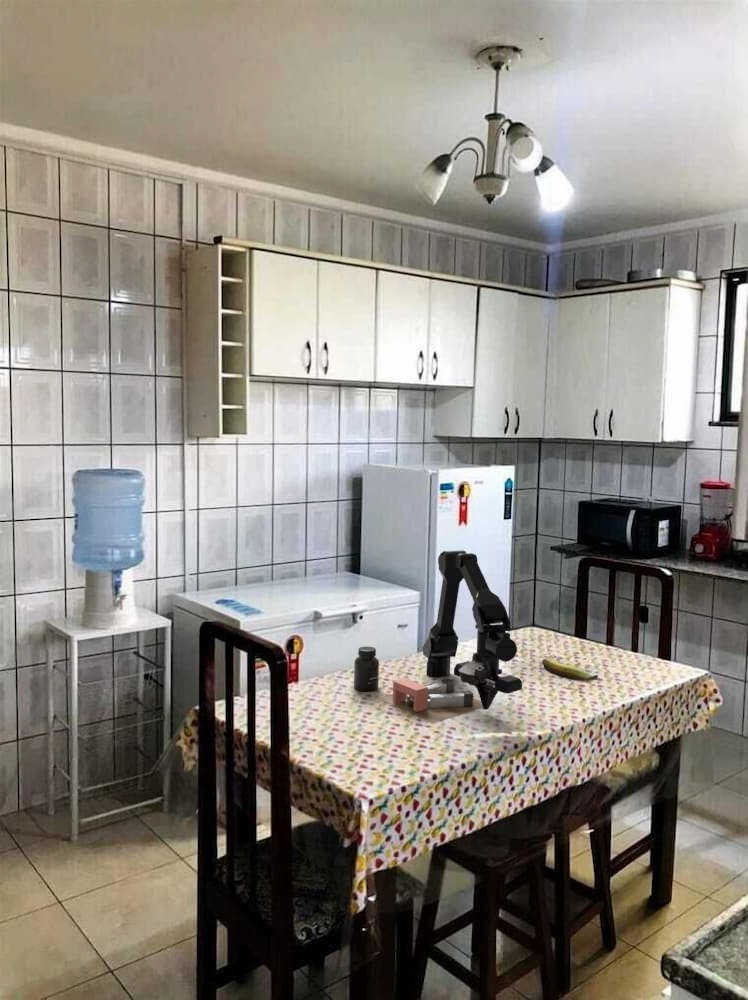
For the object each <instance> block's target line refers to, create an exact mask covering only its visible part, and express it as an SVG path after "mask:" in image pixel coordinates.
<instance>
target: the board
mask: <svg viewBox="0 0 748 1000" xmlns="http://www.w3.org/2000/svg"><path fill="white" fill-rule="evenodd" d="M433 684H436V683H434V682H431V683H429V684H423V686H429V685H433ZM455 693H460V692H458V691H455V690H454V694H455ZM407 696H409V695H408V694H407ZM376 700H379V701H381V702H384V703H386V704H388V705H391V706H393V707H395V708H398V709H400V710H403V711H404V712H407V713H410V714H411V715H413V716H416V717H419V718H421V719H423V720H425V721H428V722H430V723H432V724H435V723H438V722H442V721H445V720H447V719H451V718H455V717H458V716H461V715H464V714H467V713H472V712H474V711H476V710H480V709H483V706H482V702H481V699H480V700H479V699H477V698H475V697H473V706H467V707H441V708H430V707H428V708H427V709H425V710H421V711H418V712H415V711H413V707H410V706H409V704H408V703H407V700H405V701H401V702H398V703H394V702H393V693H391V694H387V695H384V696H380V697H377V698H376Z"/></svg>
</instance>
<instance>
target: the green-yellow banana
mask: <svg viewBox="0 0 748 1000" xmlns="http://www.w3.org/2000/svg"><path fill="white" fill-rule="evenodd" d="M546 654H547V653H546ZM546 654H544V655H546ZM553 655H554V656H555V654H553ZM556 656H557V655H556ZM556 656H555V657H554V658H557V657H556ZM554 658H553V657H552V658H545V659H544V660H541V662H542V665H543V669H544V670H545V669H546V670H545V671H546V672H549V673H550V674H551V673H552V674H553V675H556V676H557V675H558V676H560V677H563V678H568V679H571V680H583V681H585V680H597V679H598V677H599V675H598V674H595V675H590V674H589V673H588V672H587V671H585V670H583V669H582V668H579V667H577V666H572V665H568V664H564V663H560V662H557V661H555V660H553V659H554ZM561 687H562V689H571V690H573V688H569V687H566V686H561ZM574 690H576V691H578V689H577V688H574ZM580 691H583V690H582V689H580Z"/></svg>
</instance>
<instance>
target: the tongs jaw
mask: <svg viewBox="0 0 748 1000" xmlns="http://www.w3.org/2000/svg"><path fill="white" fill-rule="evenodd" d="M473 698H474V693H473V691H472V690H471V689H469V690H467V689H465V690H461V692H459V693H455V694H431V695H428V707H430V708H441V707H467V706H473Z"/></svg>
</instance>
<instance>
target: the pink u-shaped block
mask: <svg viewBox="0 0 748 1000" xmlns="http://www.w3.org/2000/svg"><path fill="white" fill-rule="evenodd" d="M392 683H393V685H392V694H393V702H394V703H398V702H401V701H405V700H407V694H408V695H410V696H413V697H414V707H413V711H415V712H418V711H421V710H425V709H427V708H428V687H426V686H424V684H421V683H418V682H416V681H413V680H411V679H407V678H406V677H403V678H401V679H396V680H393V681H392Z"/></svg>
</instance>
